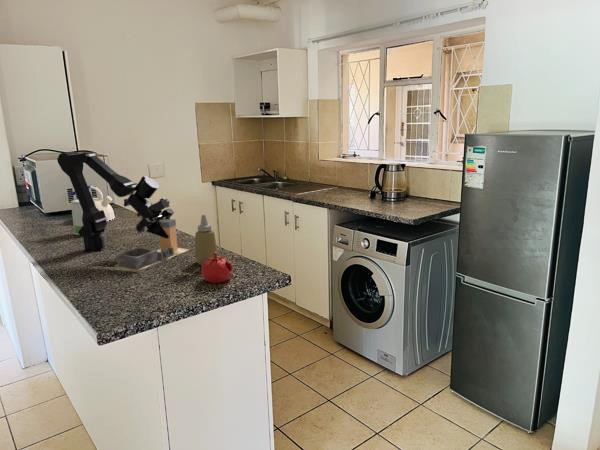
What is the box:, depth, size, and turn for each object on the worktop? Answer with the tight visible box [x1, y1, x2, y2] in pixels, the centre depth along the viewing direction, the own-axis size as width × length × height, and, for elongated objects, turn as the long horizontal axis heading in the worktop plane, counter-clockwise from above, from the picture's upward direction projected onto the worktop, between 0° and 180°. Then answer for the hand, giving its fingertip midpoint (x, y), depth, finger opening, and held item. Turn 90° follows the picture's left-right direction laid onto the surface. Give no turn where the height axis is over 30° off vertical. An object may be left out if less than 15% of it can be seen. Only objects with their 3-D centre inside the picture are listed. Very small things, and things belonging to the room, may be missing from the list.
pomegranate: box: [200, 252, 234, 284], centre depth 143 cm, size 10×10×9 cm
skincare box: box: [70, 199, 95, 236], centre depth 205 cm, size 8×7×16 cm
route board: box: [114, 247, 191, 274], centre depth 165 cm, size 26×12×5 cm, turn 154°
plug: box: [158, 218, 179, 252], centre depth 171 cm, size 5×5×12 cm
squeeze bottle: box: [194, 214, 219, 268], centre depth 157 cm, size 8×8×18 cm
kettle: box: [70, 185, 116, 222], centre depth 233 cm, size 20×21×18 cm
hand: (171, 236), depth 171 cm, fingers closed on plug, 4 cm apart
